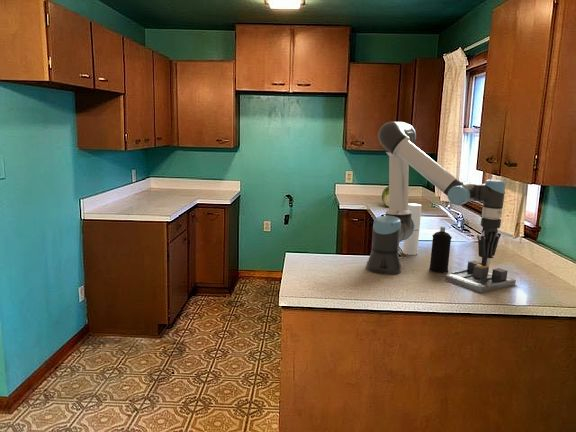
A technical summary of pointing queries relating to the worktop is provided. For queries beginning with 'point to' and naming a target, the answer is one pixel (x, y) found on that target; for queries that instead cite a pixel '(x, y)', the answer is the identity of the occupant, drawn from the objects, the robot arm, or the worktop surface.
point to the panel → (481, 285)
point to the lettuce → (386, 196)
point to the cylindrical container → (412, 242)
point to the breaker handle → (480, 271)
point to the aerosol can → (440, 251)
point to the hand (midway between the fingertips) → (484, 272)
